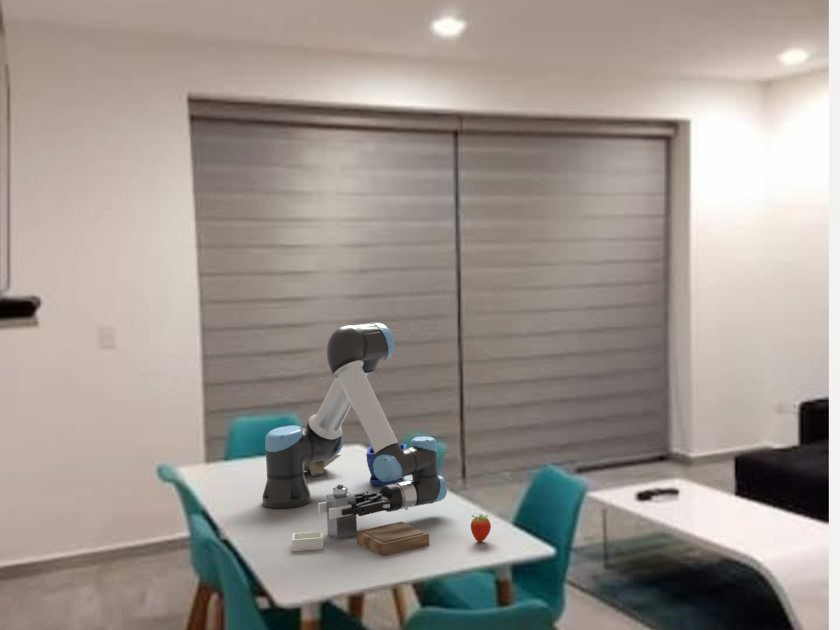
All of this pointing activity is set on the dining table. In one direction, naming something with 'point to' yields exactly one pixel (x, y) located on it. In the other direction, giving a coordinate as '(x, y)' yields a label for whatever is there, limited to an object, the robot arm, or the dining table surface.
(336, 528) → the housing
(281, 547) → the dining table surface
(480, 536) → the fruit
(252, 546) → the dining table surface
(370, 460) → the flower pot
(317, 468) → the wall
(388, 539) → the stand
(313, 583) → the dining table surface
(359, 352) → the robot arm
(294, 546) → the box
